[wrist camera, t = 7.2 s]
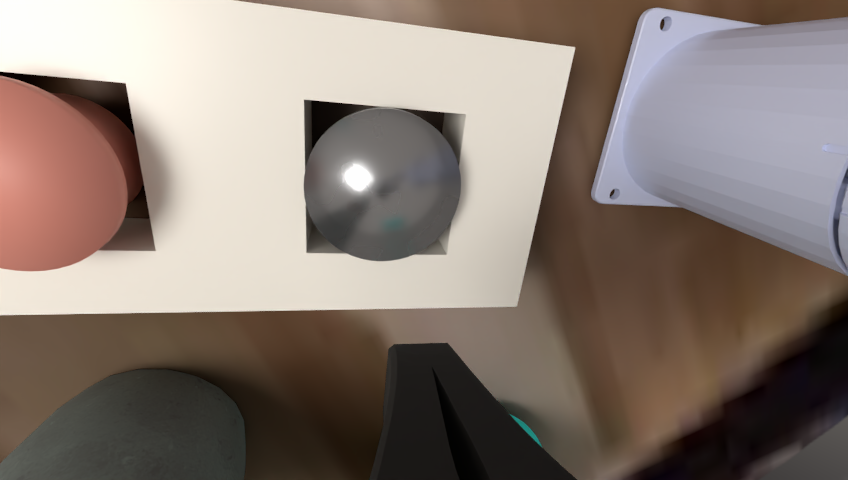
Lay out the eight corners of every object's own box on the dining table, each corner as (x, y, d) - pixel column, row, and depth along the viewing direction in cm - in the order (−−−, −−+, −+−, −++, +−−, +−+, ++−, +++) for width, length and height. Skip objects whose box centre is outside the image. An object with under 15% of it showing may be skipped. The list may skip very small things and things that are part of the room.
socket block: (535, 50, 16) (575, 47, 13) (492, 273, 19) (516, 306, 17) (-187, -45, 11) (-360, -82, 8) (-55, 271, 15) (-143, 317, 12)
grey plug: (448, 107, 15) (471, 116, 12) (433, 230, 17) (450, 262, 14) (310, 94, 14) (301, 100, 11) (311, 227, 16) (304, 260, 13)
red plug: (151, 81, 12) (96, 85, 10) (175, 232, 14) (134, 271, 12) (-50, 62, 11) (-178, 60, 9) (6, 228, 13) (-84, 271, 11)
